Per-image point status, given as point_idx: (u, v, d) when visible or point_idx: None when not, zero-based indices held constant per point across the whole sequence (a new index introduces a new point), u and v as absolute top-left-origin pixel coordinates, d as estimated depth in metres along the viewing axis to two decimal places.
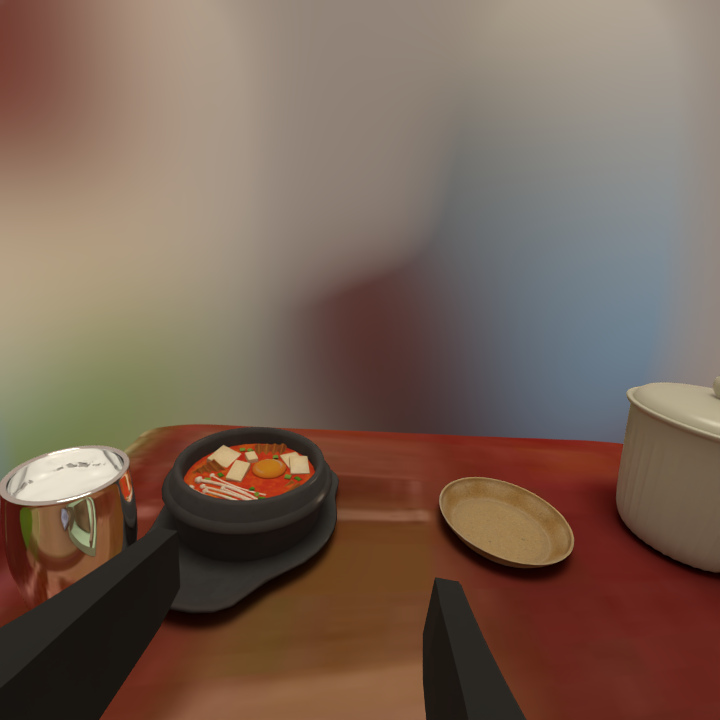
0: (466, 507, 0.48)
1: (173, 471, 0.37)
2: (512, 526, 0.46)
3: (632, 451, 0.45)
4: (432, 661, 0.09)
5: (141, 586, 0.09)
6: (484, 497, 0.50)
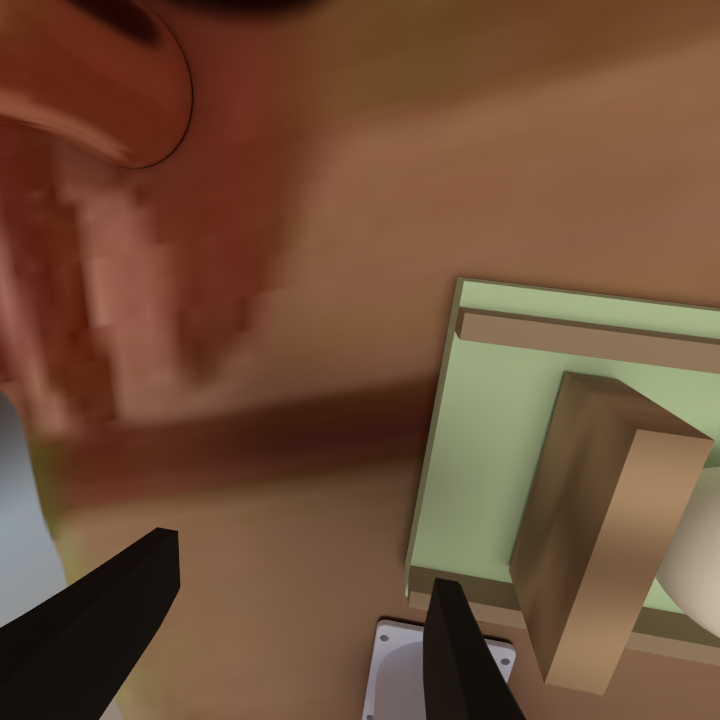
0: None
1: None
2: None
3: None
4: (432, 661, 0.09)
5: (141, 586, 0.09)
6: None
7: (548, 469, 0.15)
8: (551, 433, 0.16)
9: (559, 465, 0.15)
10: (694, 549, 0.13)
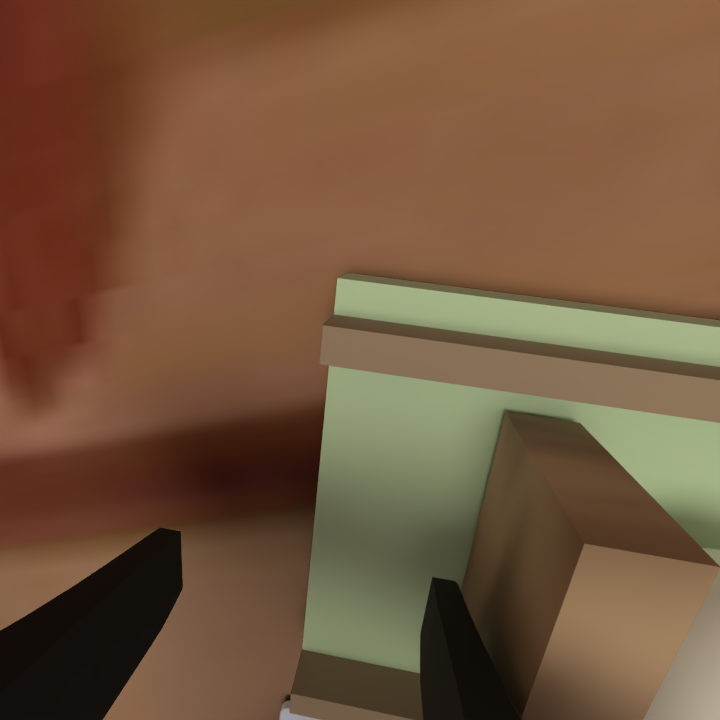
0: None
1: None
2: None
3: None
4: (429, 660, 0.09)
5: (144, 587, 0.09)
6: None
7: (482, 547, 0.11)
8: (487, 496, 0.11)
9: (492, 548, 0.10)
10: None
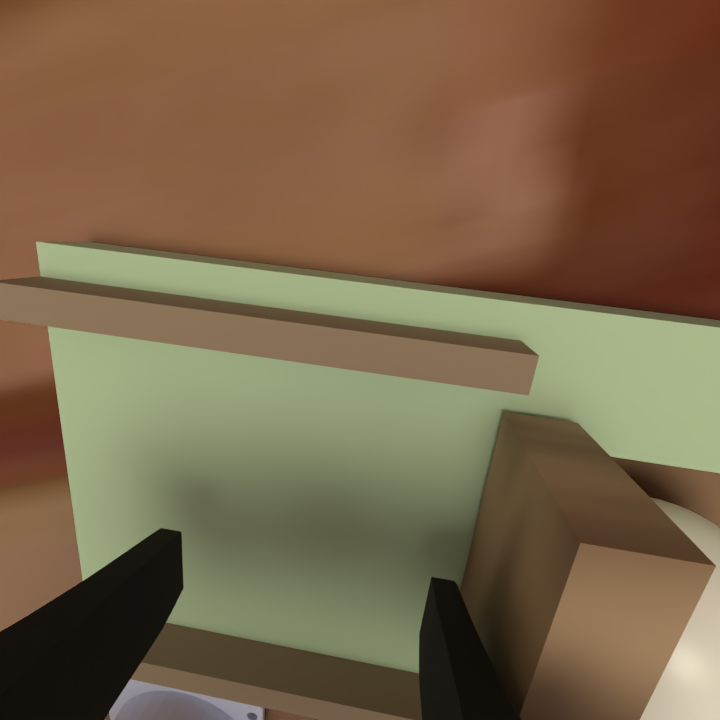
0: None
1: None
2: None
3: None
4: (428, 660, 0.09)
5: (145, 587, 0.09)
6: None
7: (480, 547, 0.11)
8: (485, 496, 0.11)
9: (491, 548, 0.10)
10: None
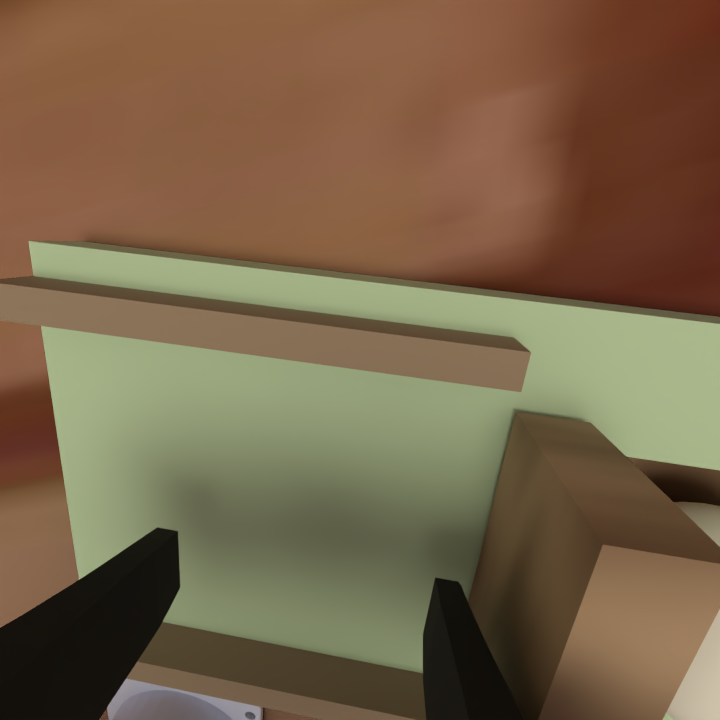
0: None
1: None
2: None
3: None
4: (432, 661, 0.09)
5: (141, 586, 0.09)
6: None
7: (493, 548, 0.11)
8: (497, 496, 0.11)
9: (504, 549, 0.10)
10: None
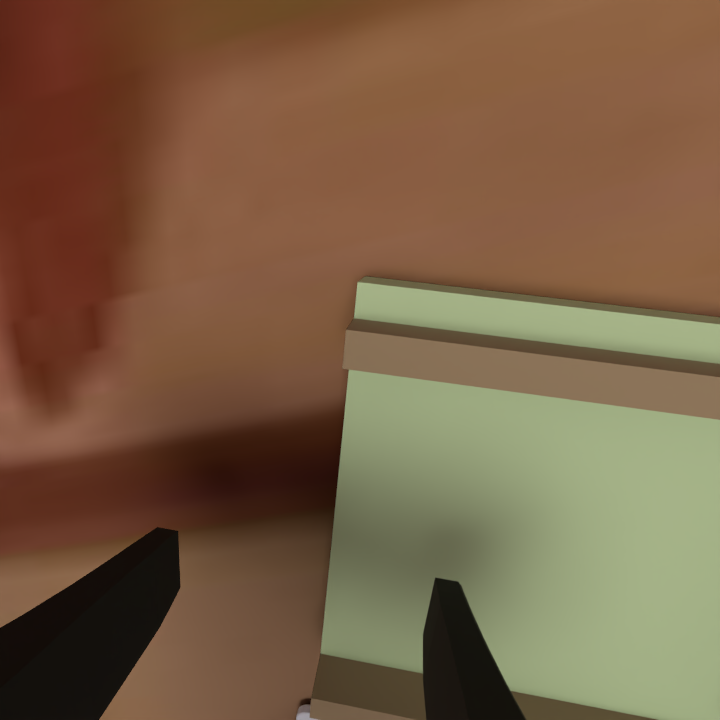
0: None
1: None
2: None
3: None
4: (432, 661, 0.09)
5: (141, 586, 0.09)
6: None
7: None
8: None
9: None
10: None
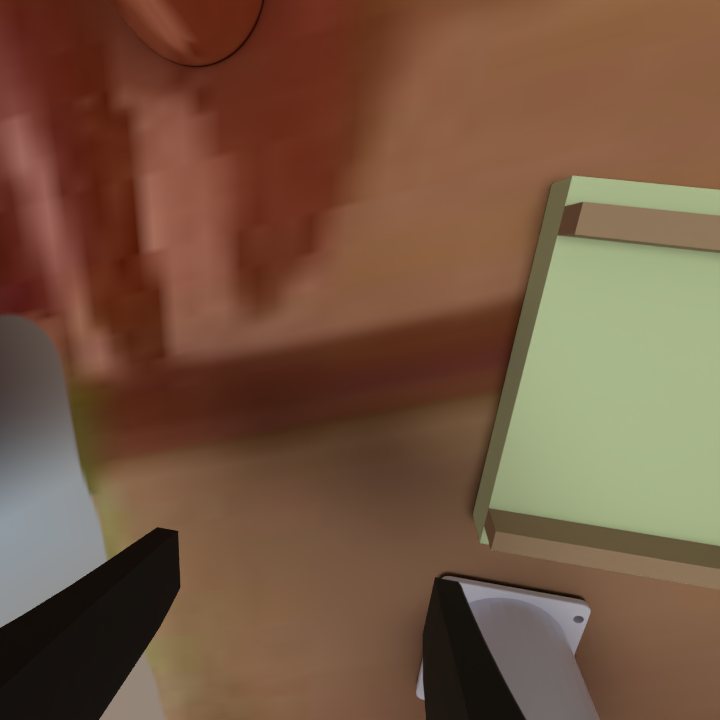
0: None
1: None
2: None
3: None
4: (432, 661, 0.09)
5: (141, 586, 0.09)
6: None
7: None
8: None
9: None
10: None
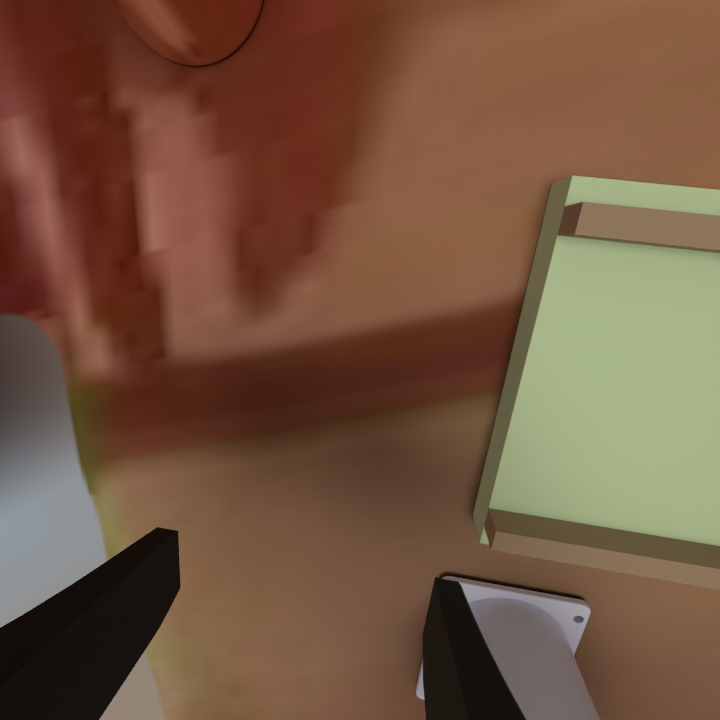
0: None
1: None
2: None
3: None
4: (432, 661, 0.09)
5: (141, 586, 0.09)
6: None
7: None
8: None
9: None
10: None
